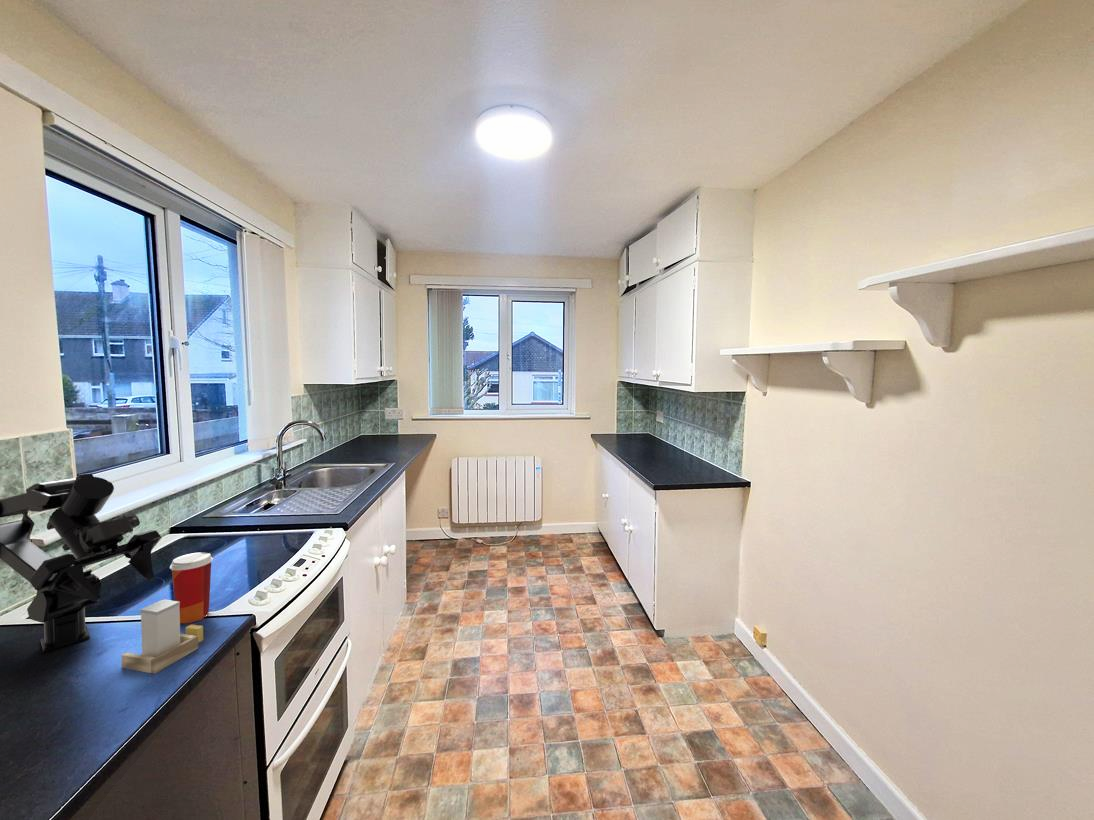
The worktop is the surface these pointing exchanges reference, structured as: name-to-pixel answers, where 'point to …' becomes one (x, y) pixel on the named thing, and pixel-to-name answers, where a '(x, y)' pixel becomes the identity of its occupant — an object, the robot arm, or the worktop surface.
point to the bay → (160, 656)
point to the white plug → (160, 627)
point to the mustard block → (195, 631)
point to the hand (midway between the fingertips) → (126, 588)
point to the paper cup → (192, 585)
